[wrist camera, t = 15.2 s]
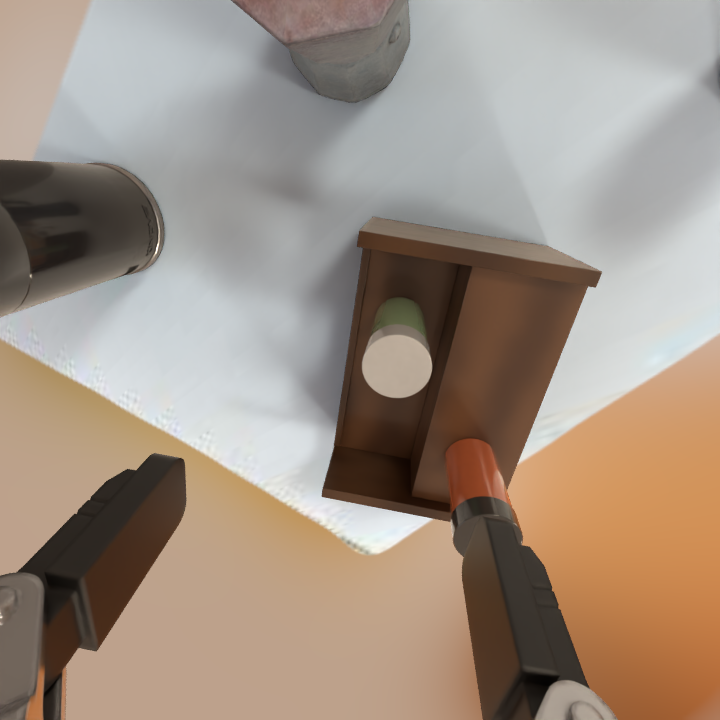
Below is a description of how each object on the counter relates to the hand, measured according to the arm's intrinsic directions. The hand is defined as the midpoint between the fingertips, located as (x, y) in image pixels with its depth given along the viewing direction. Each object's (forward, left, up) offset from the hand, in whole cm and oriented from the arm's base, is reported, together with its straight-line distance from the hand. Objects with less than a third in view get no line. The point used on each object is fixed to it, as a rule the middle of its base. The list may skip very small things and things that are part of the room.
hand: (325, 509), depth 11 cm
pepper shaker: (+9, -11, -19) cm, 24 cm away
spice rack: (+6, -6, -28) cm, 29 cm away
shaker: (+2, -2, -24) cm, 24 cm away
